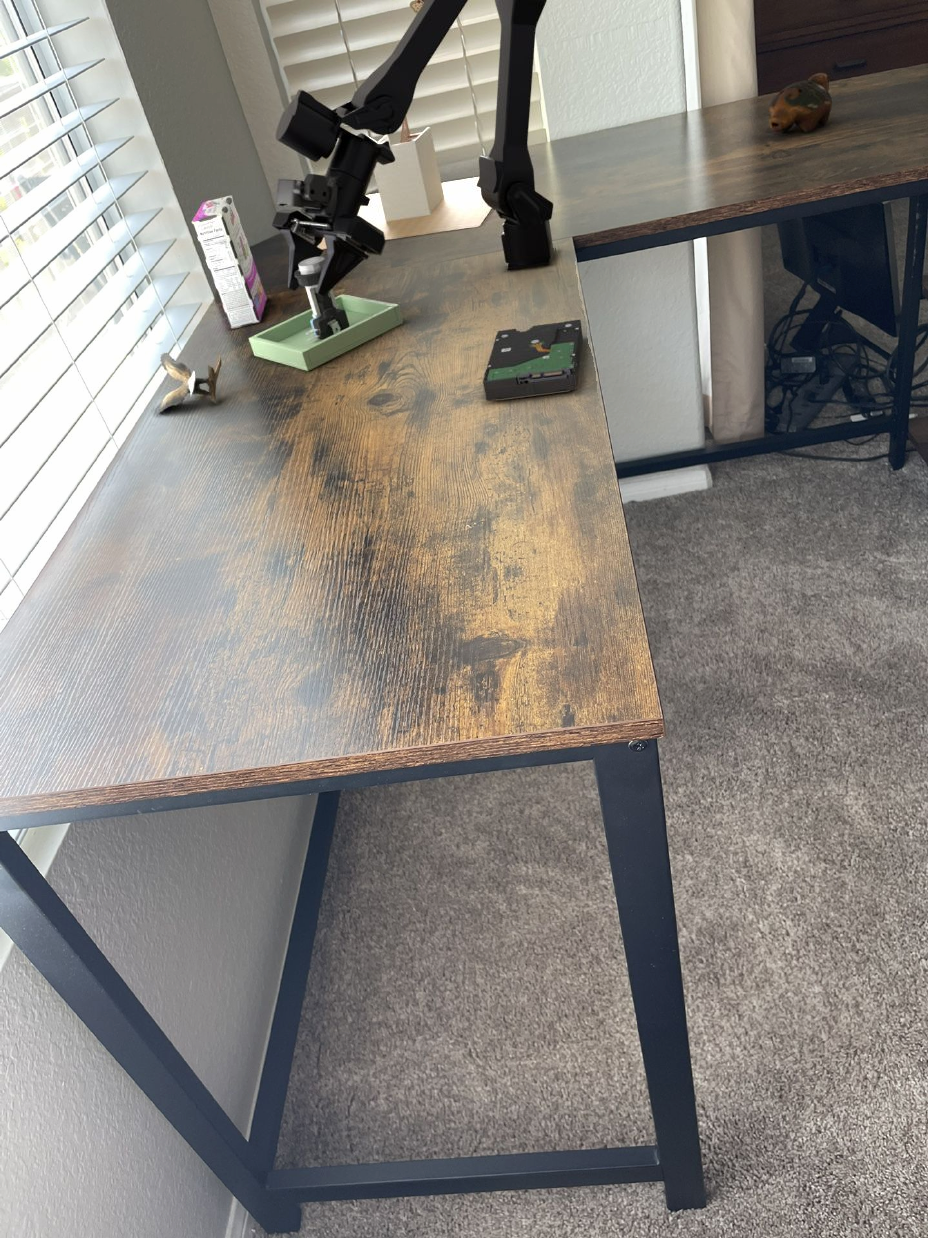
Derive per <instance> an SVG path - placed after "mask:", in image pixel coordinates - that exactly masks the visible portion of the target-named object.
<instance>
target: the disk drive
mask: <svg viewBox="0 0 928 1238" xmlns="http://www.w3.org/2000/svg"><path fill="white" fill-rule="evenodd" d="M582 328H583V327H582V320H581V319H573V320H566V321H561V322H560V321H559V322H553V323H544V324H537V325H532V327H530V328H529V329H526V330H525V331H520V330H517V328H510V329H509V328H508V329H503V330H498V331H497V333H496V335H495V338H494V342H493V346H492V349H491V352H490V356H489V359H488V363H487V365H486V369H485V372H484V374H483V379H482V383H483V384H482V386H483V390H484V395H485V400H486V401H495V402H496V401H504V400H511V399H512V400H513V399H519V398H525V397H534V396H542V395H550V394H557V393H558V394H559V393H566V392H570V391H573V390H576V389H577V387H578V382H579V373H580V365H581V357H582V356H581V355H582V348H583V341H584V338H583V337H584V336H583V335H584V334H583V329H582Z"/></svg>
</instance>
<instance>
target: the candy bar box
mask: <svg viewBox="0 0 928 1238" xmlns="http://www.w3.org/2000/svg"><path fill="white" fill-rule="evenodd" d="M194 215H195V216H194V217H193V219H192V221H191V224H192V227H193V229H194V232H195V234H196V237H197V241H198V243H199V246H200V249H201V251H202V254H203V256H204V260H205V262H206V265H207V267H208V270H209V272H210V275H211V277H212V280H213V283H214V286H215V288H216V292H217V294H218V297H219V299H220V302H221V305H222V308H223V311H224V313H225V316H226V319H227V322H228V324H229V327H230V329H239V328H242V327H248V326H251V325H254V324H259V323H261V320H262V317H263V313H264V309H265V306H266V303H267V300H268V298H267V295H266V292H265V289H264V287H263V286H264V285H263V283H262V280H261V277H260V275H259V271H258V268H257V266H256V263H255V259H254V256H253V254H252V251H251V249H250V248H251V247H250V244H249V242H248V239H247V235H246V233H245V230H244V228H243V224H242V222H241V219H240V215H239V213H238V210H237V207H236V204H235V201H234V198H233V195H232V194H231V195H227V196H222V197H218V198H214V199H209V200H206V201H204V202H202V203H201V205H200V207H199V209H198V211H197V212H196V214H194Z"/></svg>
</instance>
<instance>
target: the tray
mask: <svg viewBox="0 0 928 1238" xmlns="http://www.w3.org/2000/svg"><path fill="white" fill-rule="evenodd" d="M335 300H336V303H337V304H338V305H339V307H338V308H337V309H342V310H345V311H346V315H347V318H348V322H349V325H350V327H348V328H346V329H344V330H342V331H340V332H338V333H336V334H334V335H332V336H330V337H328V338H326V339H324V340H322V339H318V338H315V339H313V340H311V341H308V340H307V339H309V338H311V337H312V336H315V335H314V332H313V333H311V334H308V335H307V334H305V333H307V332H309V331H310V330H312V326H311V323H310V321H311V319H313V318H314V317H313V316H312V314H313V311H312V308H309V309H308V310H306V311H304V312H301V313H299V314H297V315H295V316H293V317H291V318H289V319H286V320H284V321H282V322H280V323H277V324H276V325H273V326H271V327H269V328H267V329H266V330H263V331H261V332H259V333H257V334H255V335H253V336H250V337H248V341H249V344H250V346H251V349H252V352H253V355H254V357H257V358H261V359H264V360H268V361H271V362H275V363H279V364H282V365H285V366H289V367H292V368H295V369H299V370H302V371H305V372H309V371H312V370H313V369H315V368H317V367H320V366H321V365H323V364H325V363H327V362H329V361H331V360H333V359H335V358H337V357H339V356H341V355H343V354H345V353H347V352H348V351H351V350H353V349H354V348H356V347H358V346H361V345H362V344H364V343H367V342H368V341H370V340H372V339H374V338H377V337H378V336H380V335H383V334H384V333H386V332H388V331H390V330H392V329H394V328H396V327H397V326H400V325H402V324H404V321H403V316H402V311H401V308H400V305H399V304H396V303H390V302H385V301H380V300H375V299H370V298H365V297H358V296H353V295H348V294H344V293H341V294H339V295H337V296H335ZM309 333H310V332H309Z"/></svg>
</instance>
